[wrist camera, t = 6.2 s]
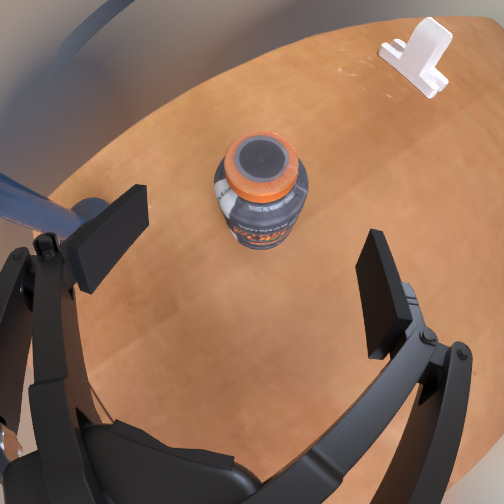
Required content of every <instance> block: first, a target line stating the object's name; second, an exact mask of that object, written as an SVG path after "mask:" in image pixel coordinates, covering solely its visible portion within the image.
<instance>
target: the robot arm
mask: <svg viewBox="0 0 504 504" xmlns="http://www.w3.org/2000/svg"><path fill="white" fill-rule="evenodd" d="M148 226H149V218H148V204H147V187H146V185H139V184H135V185H134V186H133V187H131V188H130V189H129V190H128V191H126V192H125V193H124V194H123V195H121V196H120V197H119V198H118V199H116V200H115V201H114V202H113V203H112V204H110V205H109V206H108V207H107V208H106V209H104V210H103V211H102V212H101V213H100V214H99V215H98V216H96V217H95V218H94V219H91V220H89V221H87V222H85V223H83V224H82V225H81V226H80V227H79V228H78V230H76V231H75V232H73V234H71V235H70V236H69V237H68V238H67V239H66V240H65V241H64V242H63V243H62V244H61V245H60V246H59V243H58V239H57V236H56V234H55V233H54V232H46V233H43V234H41V235H39V236H38V237H36V238H35V239H34V241H33V246H34V248H35V251H36V254H37V255H30V254H29V251H28V248H26V247H20V248H17V249H15V250H14V251H13V252H11V254H10V255H9V257H8V259H7V261H6V262H5V264H4V266H3V268H2V270H1V272H0V483H1V484H2V486H3V493H4V500H5V504H321V503H323V502H324V501H325V500H326V499H327V498H328V497H329V496H330V495H331V494H332V493H333V492H334V491H335V490H336V489H337V488H338V487H339V486H340V485H341V483H342V482H343V477H344V476H345V475H346V474H347V472H348V471H349V470H350V469H351V468H352V467H353V466H354V465H355V464H356V463H357V462H358V461H359V459H360V458H361V457H362V456H363V455H364V454H365V453H366V451H367V450H368V449H369V448H370V447H371V446H372V444H373V443H374V442H375V441H376V439H377V438H378V437H379V436H380V434H381V433H382V432H383V431H384V429H385V428H386V427H387V425H388V424H389V423H390V421H391V420H392V419H393V417H394V416H395V415H396V413H397V412H398V410H399V409H400V407H401V406H402V405H403V403H404V402H405V400H406V399H407V397H408V396H409V394H410V393H411V391H412V389H413V388H414V386H415V385H416V383H419V388H418V391H417V394H416V398H415V401H414V404H413V407H412V410H411V413H410V416H409V419H408V422H407V424H406V427H405V430H404V432H403V435H402V437H401V440H400V442H399V445H398V447H397V450H396V452H395V454H394V457H393V459H392V461H391V463H390V465H389V468H388V470H387V472H386V474H385V476H384V478H383V480H382V482H381V484H380V486H379V488H378V490H377V491H376V493H375V495H374V497H373V499H372V501H371V502H370V504H440V503H441V501H442V498H443V496H444V493H445V490H446V488H447V485H448V482H449V479H450V476H451V473H452V470H453V467H454V463H455V460H456V456H457V452H458V449H459V445H460V441H461V436H462V432H463V427H464V422H465V417H466V411H467V405H468V399H469V391H470V383H471V373H472V361H473V358H472V353H471V350H470V349H469V348H468V346H467V345H465V344H464V343H462V342H460V341H459V342H455V343H453V344H452V346H451V347H448V346H446V345H443V344H441V343H439V342H438V338H437V336H436V334H435V333H434V332H433V331H432V330H431V329H430V328H428V327H426V326H425V323H424V319H423V316H422V313H421V310H420V307H419V304H418V301H417V300H416V299H417V298H416V295H415V292H414V290H413V289H412V287H411V286H410V285H409V283H406V282H401V279H400V276H399V273H398V271H397V268H396V265H395V262H394V259H393V257H392V254H391V251H390V249H389V246H388V244H387V241H386V239H385V236H384V234H383V231H379V230H375V229H370V231H369V234H368V236H367V239H366V242H365V244H364V247H363V249H362V252H361V254H360V256H359V259H358V261H357V264H356V266H355V268H356V273H357V279H358V285H359V291H360V297H361V303H362V310H363V317H364V324H365V332H366V340H367V349H368V358H369V359H379V360H383V359H384V358H385V357H386V356H387V355H388V353H390V359H391V360H390V361H389V362H388V363H387V364H386V366H385V367H384V368H383V369H382V370H381V371H380V373H379V374H378V376H377V377H376V378H375V379H374V380H373V382H372V383H371V384H370V385H369V386H368V387H367V388H366V390H365V391H364V392H363V393H362V394H361V395H360V396H359V397H358V399H357V400H356V401H355V402H354V403H353V404H352V405H351V406H350V407H349V408H348V409H347V410H346V411H345V412H344V413H343V414H342V415H341V416H340V417H339V418H338V419H337V420H336V421H335V422H334V423H333V424H332V425H331V426H330V427H329V428H328V429H327V430H326V431H325V432H324V433H323V434H322V435H321V436H320V437H319V438H318V439H317V440H315V441H314V442H313V443H312V444H311V445H310V446H309V447H308V448H306V449H305V450H304V451H303V452H302V453H301V454H299V455H298V456H297V457H296V458H295V459H293V460H292V461H291V462H290V463H289V464H287V465H286V466H285V467H283V468H282V469H281V470H279V471H278V472H277V473H275V474H274V475H273V476H271V477H270V478H268V479H267V480H266V481H264V482H263V483H262V482H261V481H260V480H259V479H258V477H257V476H255V475H254V474H253V473H252V472H251V471H250V470H248V469H247V468H245V467H244V466H242V465H240V464H238V463H236V462H234V456H229V455H224V454H220V453H215V452H211V451H207V450H203V449H183V448H171V447H168V446H166V445H165V444H163V443H161V442H160V441H158V440H157V439H155V438H154V437H152V436H151V435H149V434H148V433H146V432H145V431H143V430H141V429H139V428H136V427H134V426H131V425H129V424H126V423H124V422H122V421H119V420H117V419H116V420H115V422H114V424H103V423H102V421H101V419H100V417H99V415H98V413H97V411H96V409H95V406H94V402H93V398H92V394H91V390H90V386H89V382H88V377H87V373H86V368H85V363H84V358H83V352H82V346H81V340H80V333H79V326H78V318H77V309H76V298H75V290H74V287H73V286H74V285H75V283H76V282H77V283H78V285H79V288H80V290H81V291H83V292H86V293H89V294H92V293H93V292H94V291H95V289H96V288H97V287H98V286H99V284H100V283H101V282H102V280H103V279H104V278H105V277H106V275H107V274H108V273H109V272H110V270H111V269H112V268H113V267H114V265H115V264H116V263H117V262H118V260H119V259H120V258H121V257H122V256H123V254H124V253H125V252H126V251H127V250H128V248H129V247H130V246H131V245H132V244H133V243H134V241H135V240H136V239H137V238H138V237H139V236H140V235H141V233H142V232H143V231H144V230H145V229H146V228H147V227H148ZM20 288H21V293H20ZM31 339H32V346H33V368H34V384H32V385H30V386H29V389H28V392H29V393H28V394H29V403H30V410H31V417H32V423H33V429H34V434H35V439H36V444H37V448H38V450H36V451H34V452H32V453H29V454H27V455H25V456H22V457H20V458H19V457H18V455H20V454H21V453H22V446H21V444H20V443H19V442H18V440H17V437H16V436H17V432H18V427H19V422H20V413H21V402H22V392H23V384H24V377H25V371H26V365H27V359H28V354H29V349H30V344H31Z"/></svg>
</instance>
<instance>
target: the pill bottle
mask: <svg viewBox="0 0 504 504" xmlns="http://www.w3.org/2000/svg"><path fill="white" fill-rule="evenodd" d="M214 189H215V194H216V198H217V200H218V203H219V206H220V208H221V211H222V213H223V215H224V218H225V220H226V222H227V225H228V227H229V229H230V231H231V233H232V235H233V236H234V237H235V239H236V240H237V241H238V242H239V243H241V244H242V245H244V246H246V247H248V248H251V249H256V250H266V249H270V248H273V247H275V246H277V245H279V244H280V243H281V242H283V241H284V240H285V239H286V238H287V236H288V235H289V234H290V232H291V230H292V228H293V226H294V224H295V222H296V220H297V218H298V216H299V214H300V212H301V210H302V208H303V205H304V202H305V200H306V197H307V193H308V177H307V173H306V170H305V167H304V165H303V164H302V162H301V160H300V159H299V158H298V156H297V153H296V151H295V149H294V147H293V146H292V145H291V143H290V142H289V141H288V140H286V139H285V138H284V137H282V136H280V135H278V134H276V133H273V132H269V131H253V132H249V133H246V134H244V135H241V136H240V137H238V138H237V139H236V140H235V141H234V142H232V143H231V145H230V146H229V148H228V150H227V152H226V154H225V157H224V158H223V159H222V161H221V162H220V164H219V166H218V168H217V170H216V173H215V177H214Z"/></svg>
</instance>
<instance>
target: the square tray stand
mask: <svg viewBox="0 0 504 504" xmlns="http://www.w3.org/2000/svg"><path fill="white" fill-rule="evenodd" d="M109 205H110V204H108V203H107V202H105V201H104V200H102V199H99V198H87V199H84V200H82V201H80V202H79V203H77V204H76V205H75V206H74V207H73V208H72V209H71V210H69V209H67V208H65V207H64V206H62V205H60V204H58V203H56V202H54V201H52V200H50V199H48V198H46V197H44V196H42V195H41V194H39V193H37V192H35V191H33V190H31V189H29V188H27V187H26V186H24V185H22V184H20V183H18V182H17V181H15V180H13V179H11V178H9V177H7V176H6V175H4V174H2V173H0V218H3V219H5V220H8V221H11V222H13V223H16V224H19V225H21V226H24V227H27V228H30V229H32V230H35V231H38V232H41V233H46V232H54V233H55V234H56V236H57V238H58V239H60V245H61V244H62V243H63V242H64V241H65V240H66V239H67V238H68V237H69V236H70V235H71V234H73V232H75V231H76V230H78V228H79V227H80V226H81V225H82V224H83V223H85V222H87V221H89V220H91V219H94V218H95V217H96V216H98V215H99V214H100V213H101V212H102V211H103V210H104V209H106V208H107V207H108V206H109Z"/></svg>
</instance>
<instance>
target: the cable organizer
mask: <svg viewBox="0 0 504 504" xmlns="http://www.w3.org/2000/svg"><path fill="white" fill-rule="evenodd" d="M452 37H453V35H452V34H451V33H450V32H449V31H448V30H446V29H445V28H444V27H443V26H441V25H440V24H439V23H437V22H436V21H435V20H434V19H432V18H431V17H427V18H425V19H424V20H422V21H421V22H420V23H419V24H418V25H417V27H416V28H415V30H414V32H413V33H412V35H411V37H410V39H409V41H408V43H407V44H406V43H404V42H403V41H402V40H400V39H394V40H393V41H392V44H391V46H390V45H389V44H388V43H383V44H382V45H381V47H380V50H379V52H378V54H379V56H381V57H382V58H383V59H384V60H386V61H387V62H388V63H389V64H391V65H392V66H393V67H394V68H395V69H397V70H398V71H399V72H400V73H401V74H402V75H404V76H405V77H406V78H407V79H408V80H409V81H410V82H411V83H412V84H413V85H415V86H416V87H417V88H418V89H419V90H420V91H421V92H422V93H423V94H424V95H425V96H426V97H427V98H429V99H431V98H433V97H434V96H435V95H436V93H437V92H438V91H439V92H441V91H442V90H443V89H444V88H445V87H446V85H447V84H448V83H449V82H448V80H447V79H446V78H445V77H444V76H443V75H442V74H441V73H440V72H439V71H438V70H437V69H436V68H435V65H436V64H437V62H438V61H439V59H440V58H441V56H442V55H443V53H444V52H445V50H446V48H447V47H448V45H449V44H450V42H451V40H452Z"/></svg>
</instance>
